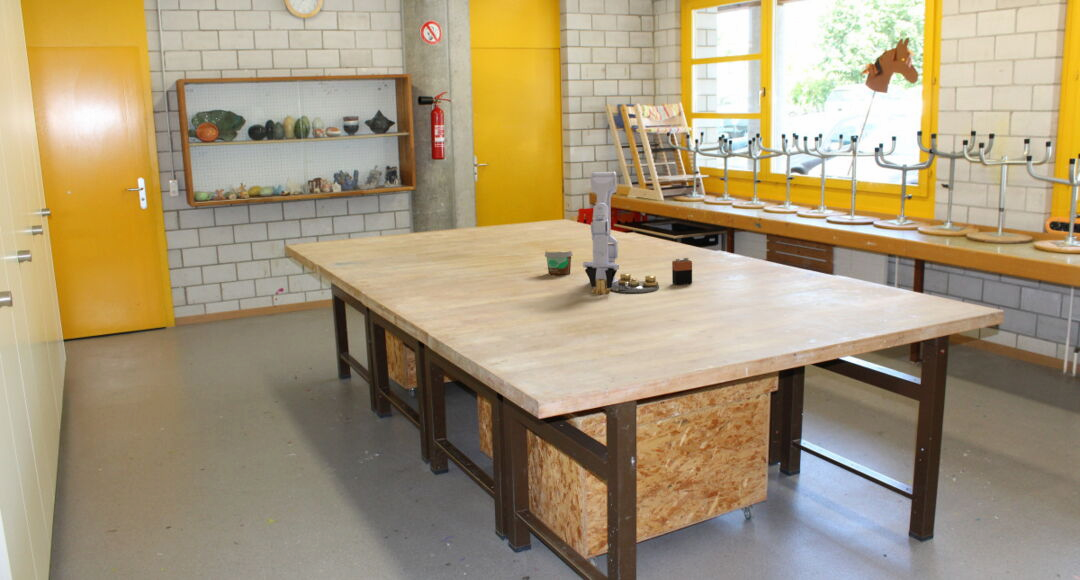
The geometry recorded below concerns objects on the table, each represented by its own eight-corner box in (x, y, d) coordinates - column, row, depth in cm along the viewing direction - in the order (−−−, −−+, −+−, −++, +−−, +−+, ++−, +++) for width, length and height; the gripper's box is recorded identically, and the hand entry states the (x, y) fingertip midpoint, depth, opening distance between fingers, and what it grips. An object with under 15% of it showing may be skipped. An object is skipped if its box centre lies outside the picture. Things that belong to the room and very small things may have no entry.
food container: (540, 275, 377) (540, 252, 375) (546, 273, 383) (545, 250, 381) (568, 276, 373) (567, 253, 371) (573, 274, 378) (572, 250, 376)
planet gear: (589, 293, 338) (589, 280, 337) (598, 290, 344) (597, 277, 343) (604, 294, 335) (604, 282, 334) (613, 291, 340) (613, 278, 339)
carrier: (600, 291, 342) (600, 279, 341) (624, 282, 357) (623, 271, 356) (645, 295, 331) (645, 283, 330) (667, 285, 347) (667, 274, 346)
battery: (692, 284, 348) (692, 258, 346) (676, 285, 347) (676, 260, 345) (688, 282, 353) (687, 257, 351) (671, 283, 351) (671, 258, 349)
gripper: (578, 252, 337) (579, 287, 339) (612, 254, 329) (613, 290, 332) (587, 249, 342) (588, 284, 345) (621, 251, 335) (622, 287, 337)
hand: (601, 287), depth 339 cm, fingers open, 6 cm apart
